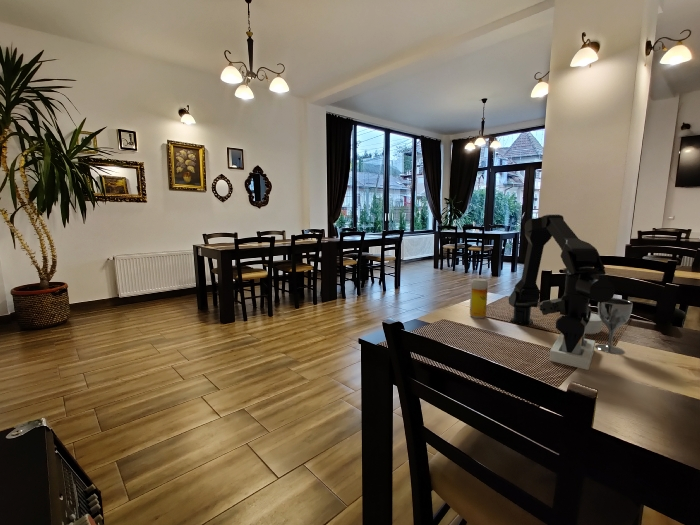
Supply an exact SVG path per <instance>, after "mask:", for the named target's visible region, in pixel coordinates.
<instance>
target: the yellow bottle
mask: <svg viewBox="0 0 700 525" xmlns="http://www.w3.org/2000/svg"><path fill="white" fill-rule="evenodd" d="M488 285H489V283H488V279H487V278H482V277H477V278H476V277H474V278H472V279H471V282H470V296H469V297H470V298H469V300H470V301H469V315H470V316H471V318H474V319H484V318H485V317H486V316H487V304H488V303H487V302H488V301H487V300H488V287H489V286H488Z"/></svg>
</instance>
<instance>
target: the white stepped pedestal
mask: <svg viewBox="0 0 700 525" xmlns="http://www.w3.org/2000/svg"><path fill="white" fill-rule="evenodd" d="M563 336H564V335H563V334H562V333H559V335H558V336H557V338H556V340H555V342H554V344H553V345H552V346H551V348H550V351H549V361H550V362H553V363H557V364H562V365H566V366H571V367H575V368H578V369H582V370H587V371H588V370H589V369H590V365H591V363H592V359H593V355H594V353H595V352H594V351H595V348H596V347H595V346H596V340H592V339H588V338H586V337H585V336H586V334H585V332H584V335H583V336H582V343H581V353H580V355H576V354H571V353H567V352H562V344H563Z"/></svg>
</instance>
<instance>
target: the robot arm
mask: <svg viewBox="0 0 700 525" xmlns="http://www.w3.org/2000/svg"><path fill="white" fill-rule="evenodd" d="M524 236H525V238H526V240H527V243H528V244H527V248H526V253H525V259H524V262H523V263H524V264H523V270H522V274H521V278H520V280H519V281H518V282H517V283H515V285H514V289H513V291H512V292H511V294H510V295H509V296H508V304H509V305H510V306H511V307H513V315H512V317H511V319H510V322H511V323H516V324H517V323H518V324H521V325H522V324H523V325H527V326H530V324H532V322H533V321H534V319H532V318H531V316H532V315H531V312H532V308H537V307H538V305H539V311H540V312H541V314H542V316H547V315H550V314H554V313H555V314H556V313H559V315H561V316H560V317H558V318H557V319H556V320H555V329H556V330H557V331H559V332H560V334H562V335H564V340H565V345H566V350H567V352H569V353H572V351H573V350H574V348H575V347H576V345H577V344H578V342H579V340H580V339H581V337H582V336H583V335H584V332H585V328H586V325H587V324H588V322H589V320H590V317H591V313H592V309H591V307H589V306H590V304H589V303H590V301H591V300H592V301H595V302H596V303H598V302H601V303H603V302H607V301H609V300H610V299H611V298H614V295H615V294H616V288H615V285H614V284H613V283H612V281H610V280H609V279H608V277H609V276H608V275H607V274H606V270H605V268H606V267H605V265H604V263H603V261H602V259H601V256H600V253H599V251H598V250H597V248H596V247H595V246H593V245H592V244H591V243H589V242H587V241H584V240H582V239H580V238H579V236H577V235H576V233H575V232H574V231H573V229H571V227H570V226H569V225H568V224H567V222H566V221H565V218H564V216H563V215H561V214H546V215H542V216H540V217H535V218H534V217H533V218H529V219H528V220H527V221H526V222H525V224H524ZM552 238H553V239H554V241H555V242H556V243H557V245H558V246H559V248H560V249H561V253H560V258H561V260H562V263H563V264H564V266H565V268H564V269H563V270H562V273H563V274H565V283H564V293H563V295H562V296H561V297H560V298H554V299H548V300H543V301H540V298H541V297H540V295H541V289H539V286H538V285H537V281H538V275H539V270H540V267H541V266H540V265H541V263H542V256H543V253H544V248H545V245H546V244H547V243H548V242H549V241H550V240H551V239H552ZM539 302H540V303H539ZM587 316H588V317H587Z"/></svg>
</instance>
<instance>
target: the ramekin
mask: <svg viewBox="0 0 700 525" xmlns="http://www.w3.org/2000/svg"><path fill="white" fill-rule="evenodd" d="M587 317H588V316H587ZM603 324H604V323H603V321H602V320H601V319H600V317H599V314H598V313H597V314H596V313H593V312H591V317H590V320H589V322H588V324H587V325H586V328H585V335H597V334H599V333H601V331H602V328H603V326H604V325H603ZM596 333H597V334H596Z"/></svg>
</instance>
